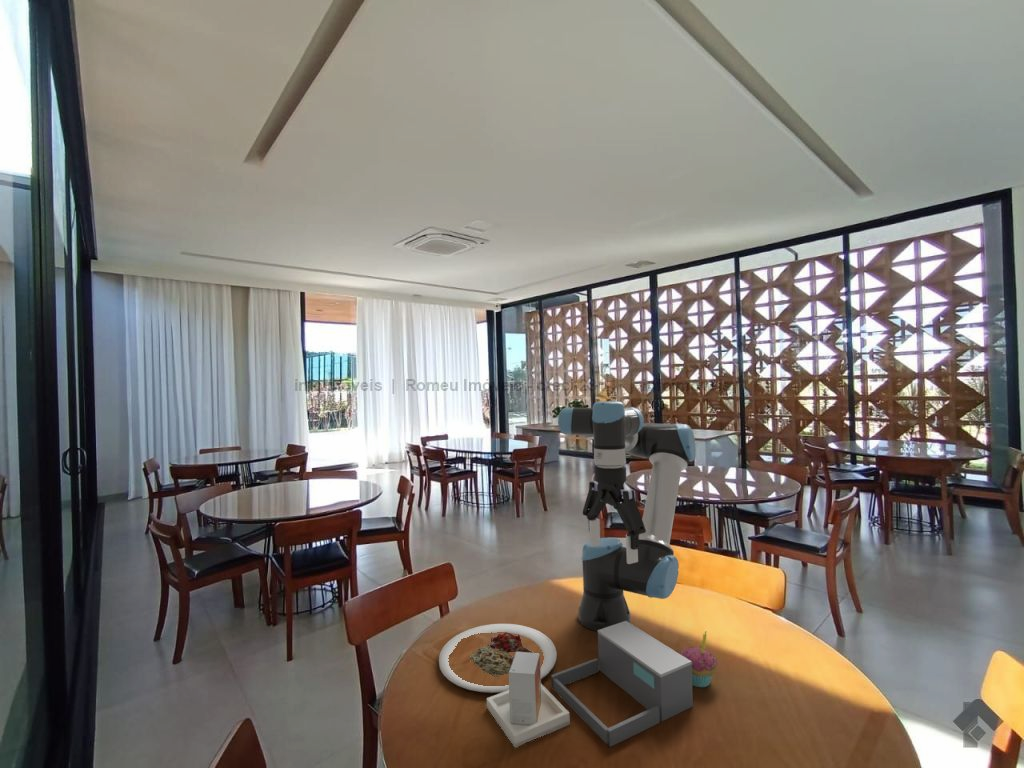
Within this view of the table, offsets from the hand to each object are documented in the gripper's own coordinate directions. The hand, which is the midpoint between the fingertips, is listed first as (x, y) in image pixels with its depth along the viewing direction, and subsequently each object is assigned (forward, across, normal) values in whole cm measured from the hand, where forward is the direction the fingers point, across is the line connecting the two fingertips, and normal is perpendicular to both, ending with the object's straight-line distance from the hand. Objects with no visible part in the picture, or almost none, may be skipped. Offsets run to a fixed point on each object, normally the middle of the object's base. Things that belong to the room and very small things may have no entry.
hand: (612, 553), depth 114 cm
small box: (+28, +2, -26) cm, 38 cm away
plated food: (+29, -20, -22) cm, 42 cm away
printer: (+29, +7, -5) cm, 30 cm away
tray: (+29, +2, -26) cm, 39 cm away
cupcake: (+29, +12, +14) cm, 34 cm away
